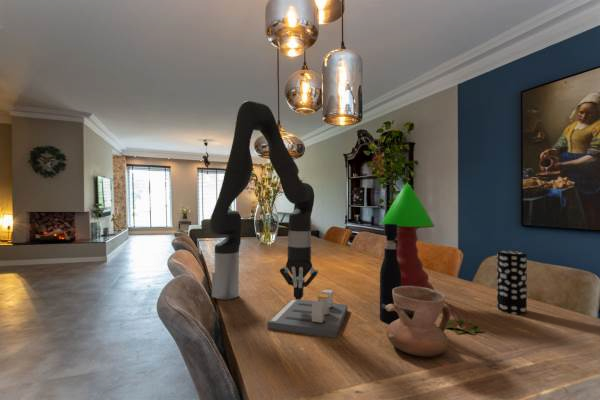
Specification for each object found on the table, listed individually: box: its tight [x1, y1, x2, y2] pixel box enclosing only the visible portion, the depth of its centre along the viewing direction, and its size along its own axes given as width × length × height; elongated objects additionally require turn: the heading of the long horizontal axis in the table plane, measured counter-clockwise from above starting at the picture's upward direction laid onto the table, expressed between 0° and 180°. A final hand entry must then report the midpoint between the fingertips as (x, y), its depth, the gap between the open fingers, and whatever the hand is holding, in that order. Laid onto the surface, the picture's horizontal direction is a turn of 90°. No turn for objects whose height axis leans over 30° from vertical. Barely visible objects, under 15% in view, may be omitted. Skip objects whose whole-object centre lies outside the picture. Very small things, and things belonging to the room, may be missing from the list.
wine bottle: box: [379, 224, 401, 325], centre depth 95 cm, size 6×6×30 cm
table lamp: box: [380, 182, 435, 290], centre depth 117 cm, size 20×20×45 cm
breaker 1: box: [312, 300, 325, 323], centre depth 87 cm, size 3×3×5 cm
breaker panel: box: [266, 298, 348, 339], centre depth 95 cm, size 20×22×2 cm
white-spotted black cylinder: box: [496, 249, 528, 316], centre depth 104 cm, size 8×8×20 cm
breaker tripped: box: [317, 293, 329, 315], centre depth 94 cm, size 3×3×5 cm
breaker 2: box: [321, 289, 334, 308], centre depth 100 cm, size 3×3×5 cm
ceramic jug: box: [385, 286, 452, 358], centre depth 76 cm, size 18×14×14 cm
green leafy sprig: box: [438, 312, 485, 336], centre depth 89 cm, size 12×12×5 cm
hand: (298, 298), depth 96 cm, fingers closed
